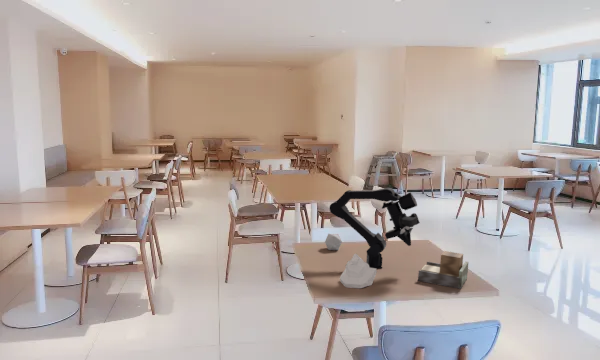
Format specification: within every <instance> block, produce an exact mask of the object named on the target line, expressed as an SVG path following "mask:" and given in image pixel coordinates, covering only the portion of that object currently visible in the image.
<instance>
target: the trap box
mask: <svg viewBox="0 0 600 360" xmlns="http://www.w3.org/2000/svg"><path fill="white" fill-rule="evenodd" d="M468 270H469V261H465V262H464V263H463V264H462V268H461V269H460V271H459V276H456V275H450V274H445V273H440V263H439V262H432V261H426V264H424V265H423V267H422V268H421V269H420V270H418V273H417V274H418V276H417V281H418V282H423V283H428V284H434V285H438V286H443V287H444V286H445V287H448V288H453V289H454V288H455V289H459V290H461V289H462V288H463V286H464V285H465V283H466V281H467V279H468V272H469V271H468Z"/></svg>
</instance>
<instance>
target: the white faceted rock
mask: <svg viewBox="0 0 600 360" xmlns="http://www.w3.org/2000/svg"><path fill="white" fill-rule="evenodd" d="M377 270H378V268H370V267H369V264H367V263H366V261H364V259H363V258H361V257H360V256H359V255H358V253H354V254H352V256H351V259H350V260H348V261H347V263H346V264H345V269H344V270H343V271H342V273H341V274H340V276H339V281H340V283H341V284H342V285H343V286H344V287H345V288H350V289H363V288H366V287H368V286H369V287H370V286H372V285H373V282H374V280H375V278H376V275H377V272H378V271H377Z"/></svg>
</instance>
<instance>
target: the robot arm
mask: <svg viewBox="0 0 600 360" xmlns="http://www.w3.org/2000/svg"><path fill="white" fill-rule="evenodd" d="M351 200H377V201H379V202H383V203H382V206H381V209H385V208H386V209H387V212H388V213H389V216H390V218H389V221H390V222H392V223H393V227H392V228H393V229H390V230H389V231H387V232H385V234H384V235H385V237H384V236H382V235H381V234H380V233H379V232H377V233H373V232H372V231H371V230H370V229H369V228H368V227H366V226H365V225H364V224H363V223H362V222H361V221H359V220H358V218H356V217H355V216H354V215H353V214H352V213H351V212H350V210H349V208H348V207H347V204H348V203H349V202H350V201H351ZM416 207H418V203H417V201H416V198H415V196H414V195H413V193H412V192H411V191H410V192H408V193H406V194H404V195H399V193H397V192H395V190H394V189H393V188H392V187H384V188H380V189H374V190H350V189H348V190H346V191H345V192H344V193H343V194H342V195H341V196H340V197H339V198H338V199H337V200H336V201H334V202H331V204H330V205H329V212H330V213H331V214H332V215H333V216H335V217H337V218H339V219H342V220H343V221H344V222H346V223H347V224H348V225H349V227H351V228H352V229H353V230H354V231H355V232H357V233H358V234H359V235H360V236H361V237H362V238H363V239H364V240H365V242H367V245H368V246H369V248H368V249H367V250H365V252H366V260H365V262H366V263H367V264H369V267H370V268H376V269H383V257H382V255H383V254H382V252H383V251H384V250H385V249H386V248H387V240H388V239H392V238H396V237H397V238H399V239H400V240H401V241H402V242H403V243H405V245H406V246H408V247H411V246H412V239H411V237H412V236H411V233H412V230H413V229H414V226H417V225H418V224H421V223H420V220H419V217H418V214H417V213H415V212H413V213H411V214H410V215H408V216H407V214H406V213H405V212H403V210H404V211H408V210H411V209H413V208H416ZM385 238H386V239H385Z"/></svg>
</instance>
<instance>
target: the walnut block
mask: <svg viewBox="0 0 600 360" xmlns="http://www.w3.org/2000/svg"><path fill="white" fill-rule="evenodd" d="M463 262H464V254H463V253H460V252H454V251H448V250H444V251H443V252H442V253H441V254H440V263H439V264H440V273H445V274H450V275H456V276H459V271H460V269H461V268H462V266H463V265H464V263H463Z"/></svg>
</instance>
